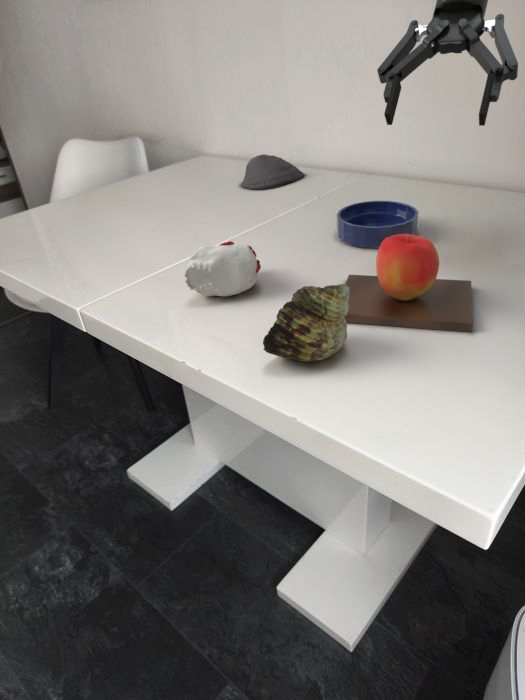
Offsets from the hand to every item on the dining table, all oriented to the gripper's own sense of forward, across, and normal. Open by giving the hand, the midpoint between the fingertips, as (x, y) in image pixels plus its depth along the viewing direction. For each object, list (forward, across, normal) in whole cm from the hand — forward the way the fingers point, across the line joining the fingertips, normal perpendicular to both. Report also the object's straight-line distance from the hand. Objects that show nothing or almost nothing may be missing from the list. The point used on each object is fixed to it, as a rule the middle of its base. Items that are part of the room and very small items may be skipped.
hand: (433, 120), depth 80 cm
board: (+26, 0, -11) cm, 28 cm away
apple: (+25, 0, -10) cm, 27 cm away
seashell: (+38, +9, +2) cm, 40 cm away
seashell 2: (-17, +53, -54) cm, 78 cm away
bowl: (+6, +13, -30) cm, 34 cm away
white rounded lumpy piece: (+28, +30, -8) cm, 42 cm away
